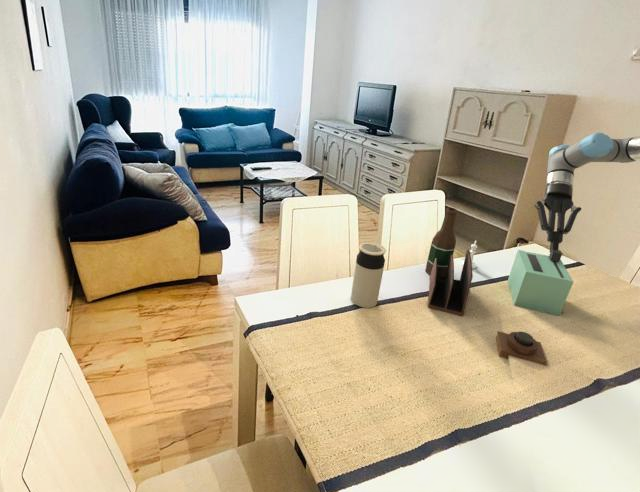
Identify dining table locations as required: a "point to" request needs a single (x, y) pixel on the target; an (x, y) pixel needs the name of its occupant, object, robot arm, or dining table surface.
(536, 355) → the button block
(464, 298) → the letter holder
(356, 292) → the travel mug
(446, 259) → the beer bottle
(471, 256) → the chess piece
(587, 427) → the dining table surface
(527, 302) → the toaster
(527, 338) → the button
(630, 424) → the dining table surface
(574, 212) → the robot arm
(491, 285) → the dining table surface
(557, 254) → the toaster slider
